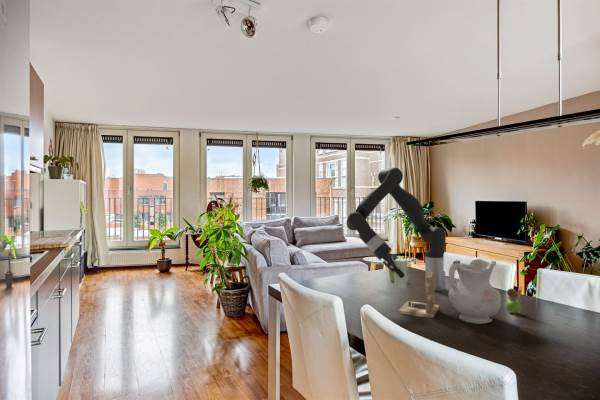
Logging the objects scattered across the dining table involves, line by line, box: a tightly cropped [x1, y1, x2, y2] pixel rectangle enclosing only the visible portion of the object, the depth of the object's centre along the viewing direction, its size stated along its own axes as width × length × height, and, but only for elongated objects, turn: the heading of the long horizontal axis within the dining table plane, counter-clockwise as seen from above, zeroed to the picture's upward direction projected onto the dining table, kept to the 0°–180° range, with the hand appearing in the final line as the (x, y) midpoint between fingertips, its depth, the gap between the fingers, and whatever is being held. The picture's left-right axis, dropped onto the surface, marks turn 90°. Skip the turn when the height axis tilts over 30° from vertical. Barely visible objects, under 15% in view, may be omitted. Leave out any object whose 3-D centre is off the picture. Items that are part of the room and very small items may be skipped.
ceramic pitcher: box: [448, 258, 502, 325], centre depth 149 cm, size 22×19×25 cm
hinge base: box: [398, 272, 440, 319], centre depth 161 cm, size 14×16×16 cm
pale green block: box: [393, 258, 408, 290], centre depth 165 cm, size 4×6×12 cm
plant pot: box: [387, 267, 394, 282], centre depth 218 cm, size 9×9×9 cm
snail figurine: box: [505, 286, 523, 314], centre depth 156 cm, size 5×6×12 cm
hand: (404, 275), depth 164 cm, fingers closed on pale green block, 5 cm apart
